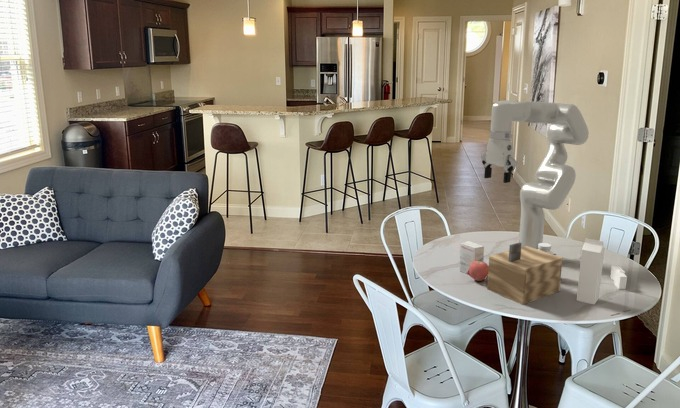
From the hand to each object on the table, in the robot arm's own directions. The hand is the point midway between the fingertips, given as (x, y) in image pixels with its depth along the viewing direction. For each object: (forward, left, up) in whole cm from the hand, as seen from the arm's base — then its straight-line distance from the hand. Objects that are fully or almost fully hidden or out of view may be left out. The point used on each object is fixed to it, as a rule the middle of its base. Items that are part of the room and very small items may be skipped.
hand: (497, 180), depth 219 cm
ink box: (+10, -1, -37) cm, 38 cm away
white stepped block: (-27, +37, -37) cm, 59 cm away
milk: (-5, +39, -37) cm, 54 cm away
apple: (+13, +5, -36) cm, 39 cm away
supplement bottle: (-10, +16, -37) cm, 41 cm away
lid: (+7, +21, -24) cm, 33 cm away
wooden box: (+7, +21, -36) cm, 43 cm away
